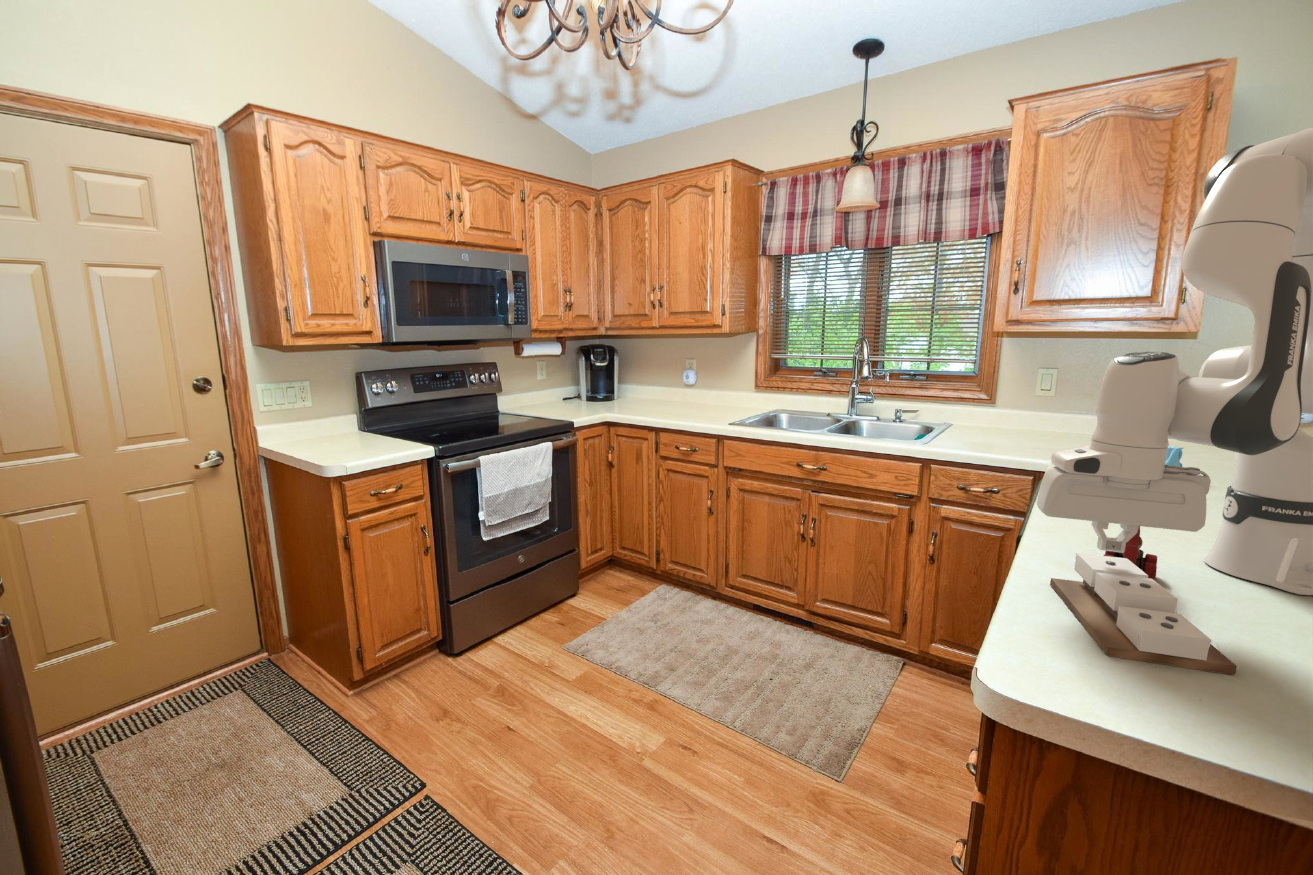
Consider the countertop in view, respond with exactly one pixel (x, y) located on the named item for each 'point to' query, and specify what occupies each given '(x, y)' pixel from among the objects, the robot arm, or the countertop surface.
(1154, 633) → the three-pip tile
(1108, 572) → the one-pip tile
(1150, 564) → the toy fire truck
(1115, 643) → the walnut board
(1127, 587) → the two-pip tile
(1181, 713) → the countertop surface
